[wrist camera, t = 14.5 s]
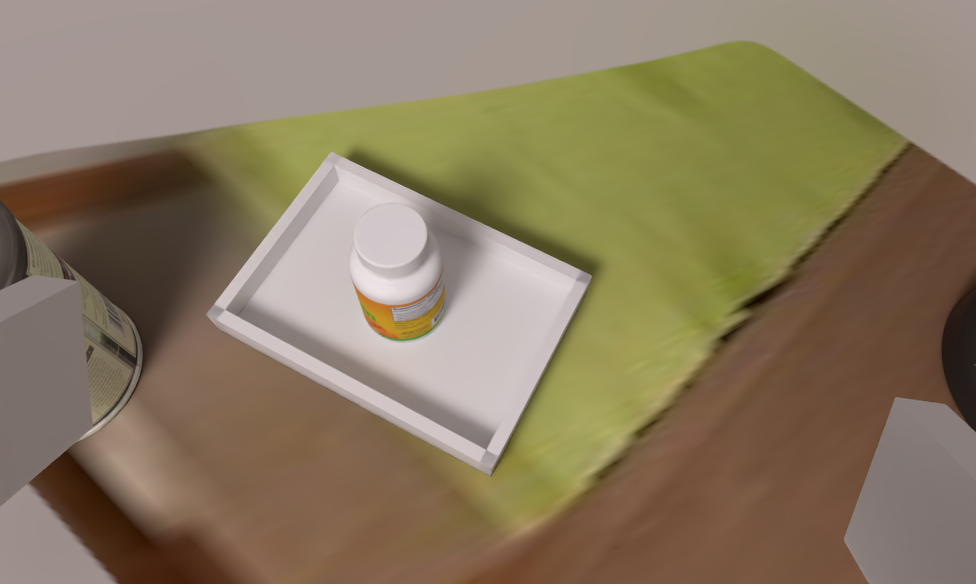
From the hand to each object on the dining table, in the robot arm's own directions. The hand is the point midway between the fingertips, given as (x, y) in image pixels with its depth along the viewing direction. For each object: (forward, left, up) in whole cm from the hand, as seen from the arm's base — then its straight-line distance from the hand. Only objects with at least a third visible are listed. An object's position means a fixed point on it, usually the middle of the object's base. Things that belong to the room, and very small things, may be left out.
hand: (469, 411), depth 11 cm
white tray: (+11, -12, -32) cm, 36 cm away
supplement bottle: (+11, -12, -31) cm, 35 cm away
